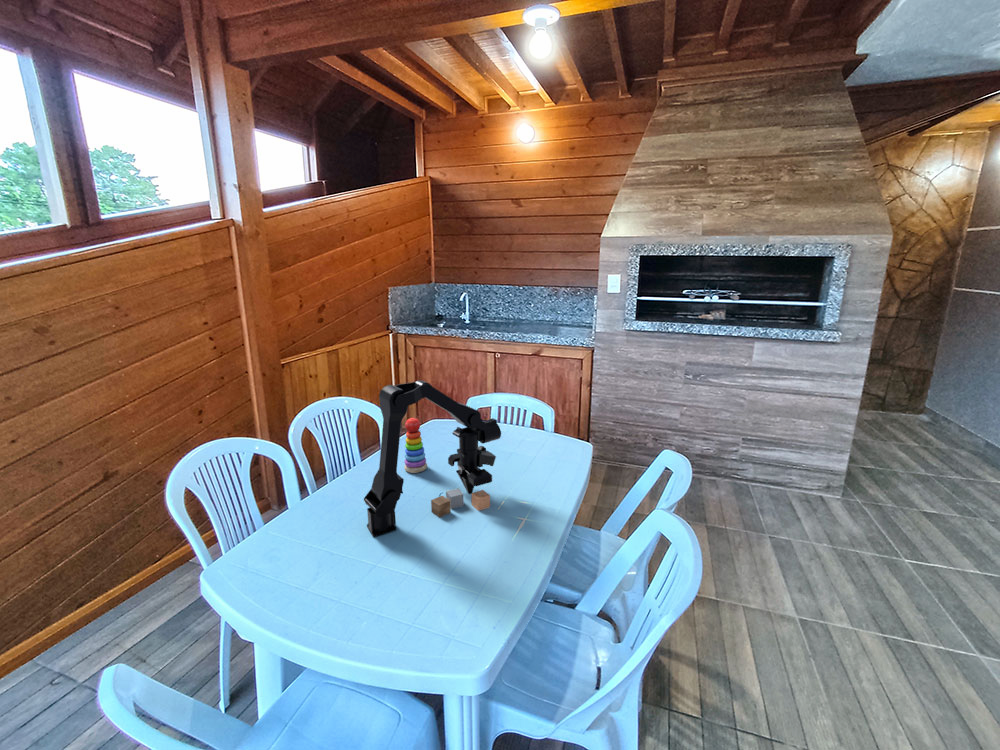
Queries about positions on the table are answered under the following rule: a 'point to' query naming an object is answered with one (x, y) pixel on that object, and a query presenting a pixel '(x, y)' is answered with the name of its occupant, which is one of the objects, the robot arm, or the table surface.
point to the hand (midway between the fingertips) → (469, 493)
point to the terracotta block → (480, 500)
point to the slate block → (455, 498)
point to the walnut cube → (440, 506)
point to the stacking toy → (414, 448)
